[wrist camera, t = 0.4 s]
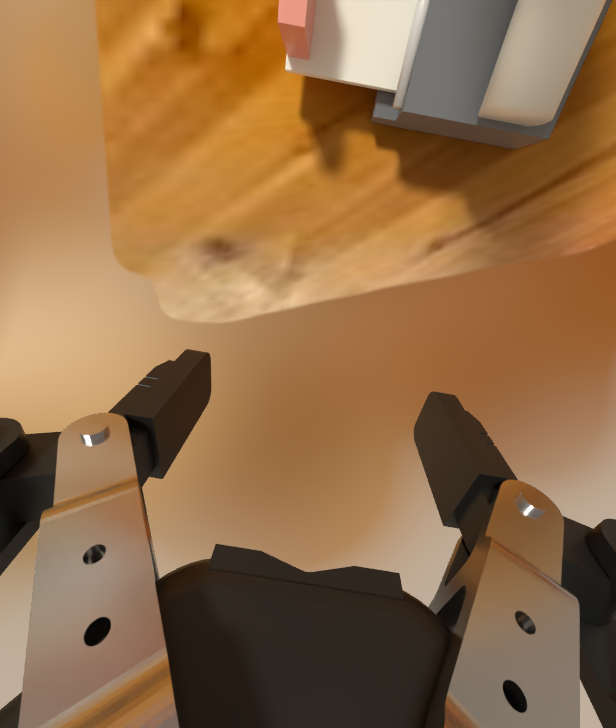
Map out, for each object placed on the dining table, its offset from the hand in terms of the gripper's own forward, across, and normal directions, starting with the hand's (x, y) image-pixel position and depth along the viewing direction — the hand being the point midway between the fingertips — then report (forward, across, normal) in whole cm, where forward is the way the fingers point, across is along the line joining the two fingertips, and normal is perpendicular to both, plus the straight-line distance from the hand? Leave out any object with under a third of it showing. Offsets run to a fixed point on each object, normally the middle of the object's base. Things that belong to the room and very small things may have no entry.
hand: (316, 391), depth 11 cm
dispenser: (+27, -9, -18) cm, 34 cm away
